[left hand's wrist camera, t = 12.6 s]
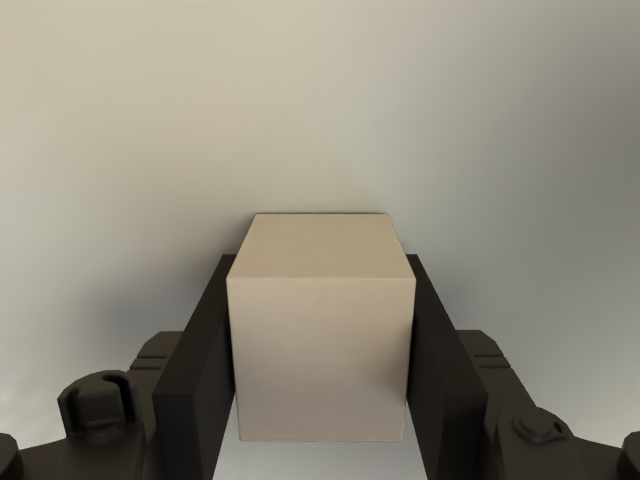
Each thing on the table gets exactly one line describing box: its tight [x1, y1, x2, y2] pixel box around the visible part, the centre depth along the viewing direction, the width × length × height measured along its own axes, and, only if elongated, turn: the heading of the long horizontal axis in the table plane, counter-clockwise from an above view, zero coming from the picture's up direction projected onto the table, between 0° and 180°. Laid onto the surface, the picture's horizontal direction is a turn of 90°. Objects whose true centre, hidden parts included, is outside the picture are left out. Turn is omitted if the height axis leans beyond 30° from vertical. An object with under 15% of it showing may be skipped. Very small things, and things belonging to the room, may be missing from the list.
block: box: [226, 214, 416, 442], centre depth 13 cm, size 4×5×5 cm
